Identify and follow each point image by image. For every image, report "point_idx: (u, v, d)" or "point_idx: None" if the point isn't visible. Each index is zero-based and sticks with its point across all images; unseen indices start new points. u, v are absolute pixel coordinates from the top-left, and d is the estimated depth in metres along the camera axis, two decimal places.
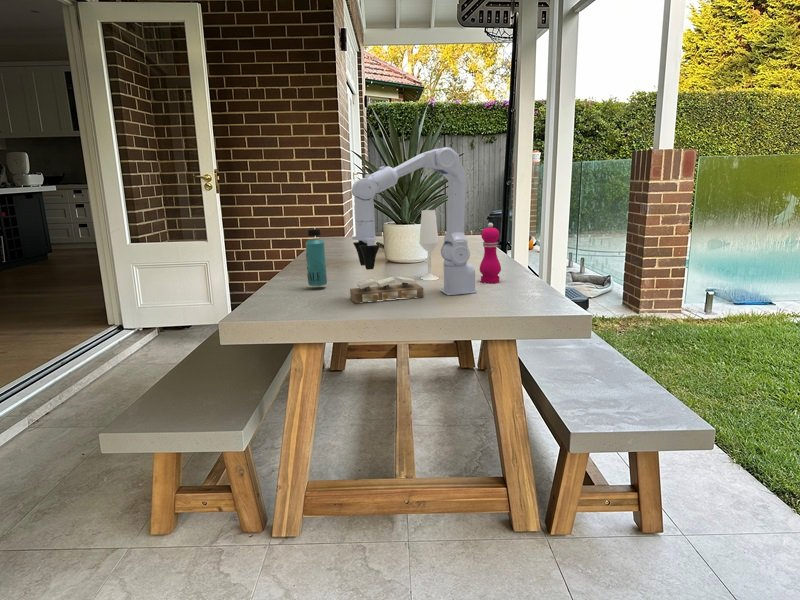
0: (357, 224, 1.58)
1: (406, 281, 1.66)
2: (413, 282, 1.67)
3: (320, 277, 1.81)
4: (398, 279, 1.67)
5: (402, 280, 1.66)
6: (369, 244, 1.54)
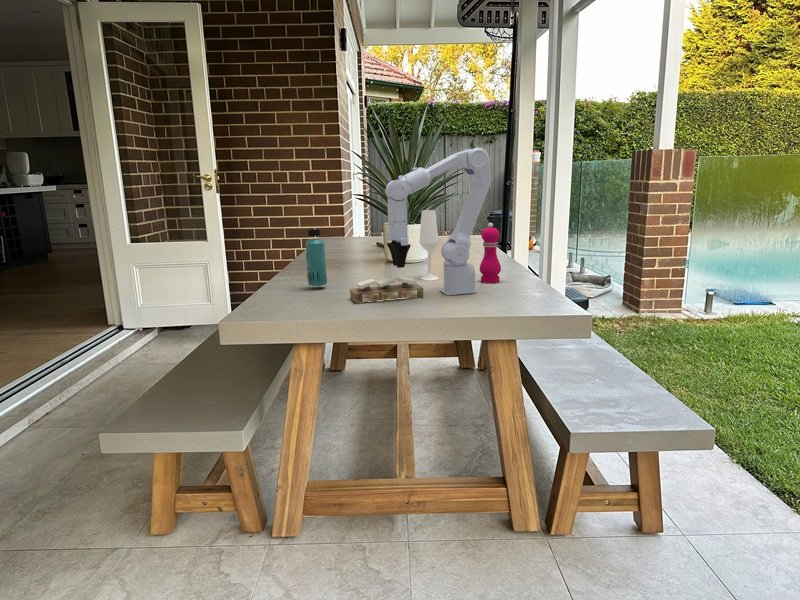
0: (390, 224, 1.62)
1: (406, 281, 1.66)
2: (413, 282, 1.67)
3: (320, 277, 1.81)
4: (398, 279, 1.67)
5: (402, 280, 1.66)
6: (403, 244, 1.58)
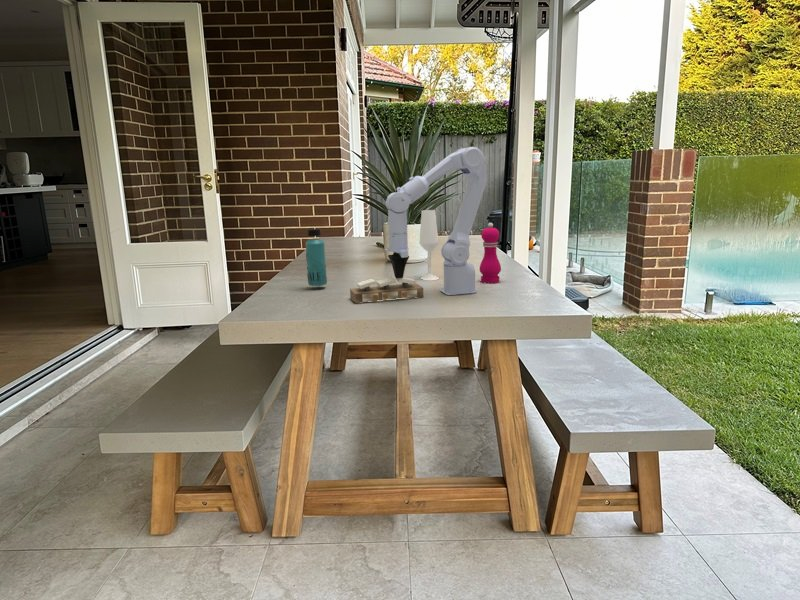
0: (390, 236, 1.63)
1: (406, 281, 1.66)
2: (413, 282, 1.67)
3: (320, 277, 1.81)
4: (398, 279, 1.67)
5: (402, 280, 1.66)
6: (403, 256, 1.59)
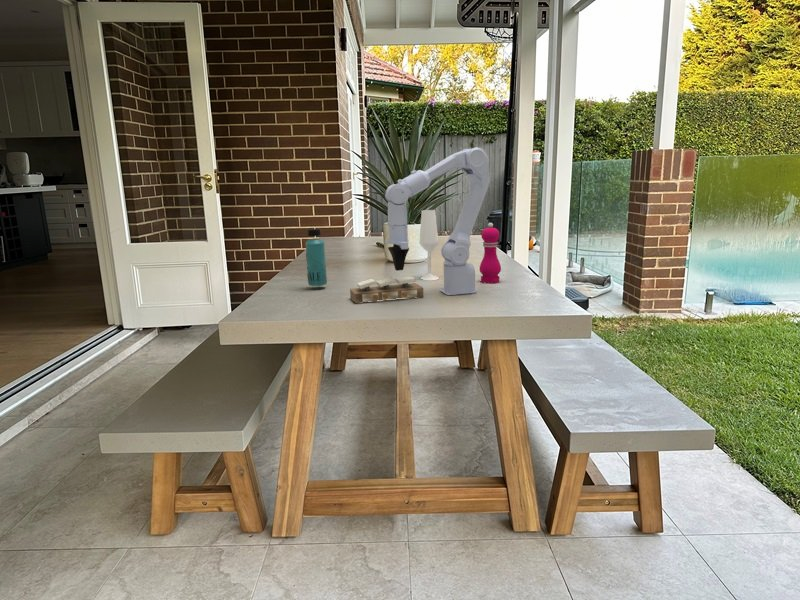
0: (390, 228, 1.62)
1: (406, 281, 1.66)
2: (413, 280, 1.67)
3: (320, 277, 1.81)
4: (397, 281, 1.67)
5: (401, 281, 1.66)
6: (403, 248, 1.58)
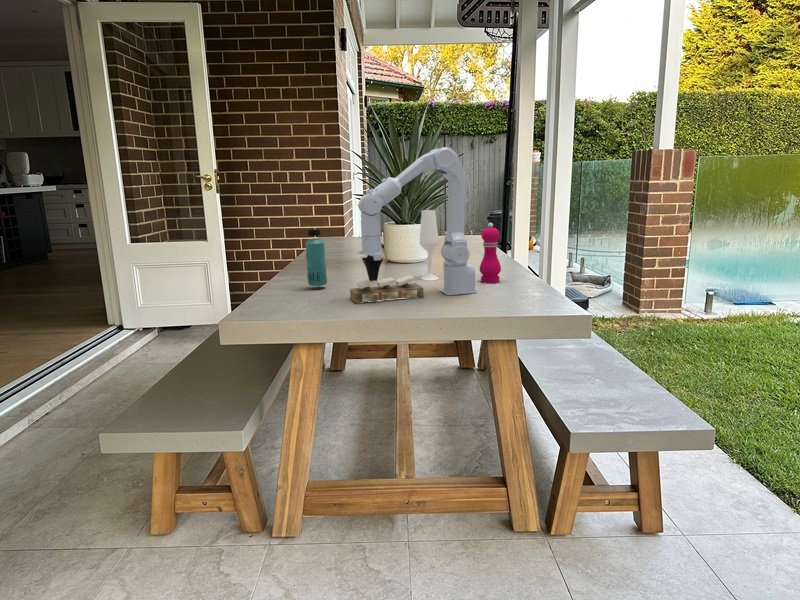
0: (363, 239, 1.61)
1: (405, 282, 1.66)
2: (412, 279, 1.67)
3: (320, 277, 1.81)
4: (397, 283, 1.67)
5: (401, 282, 1.66)
6: (376, 259, 1.57)
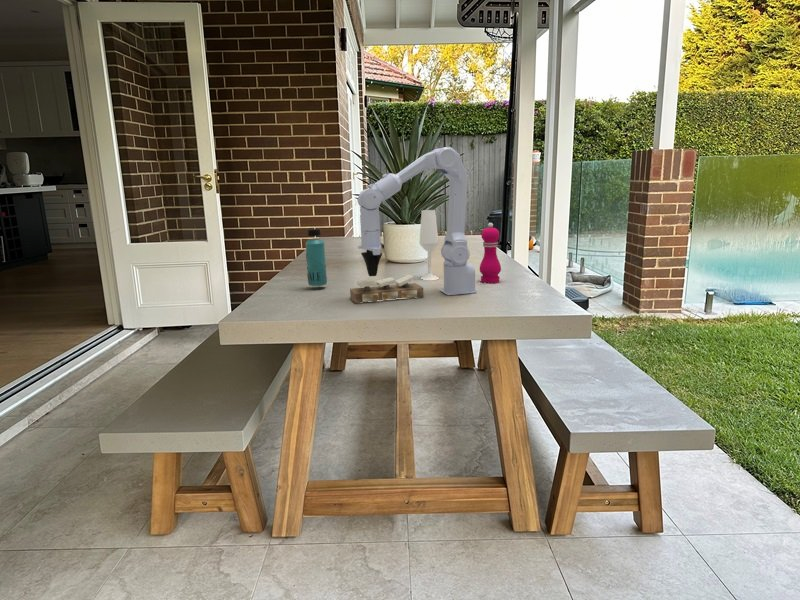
0: (363, 233, 1.60)
1: (405, 282, 1.66)
2: (412, 279, 1.67)
3: (320, 277, 1.81)
4: (397, 283, 1.67)
5: (401, 283, 1.66)
6: (375, 253, 1.56)
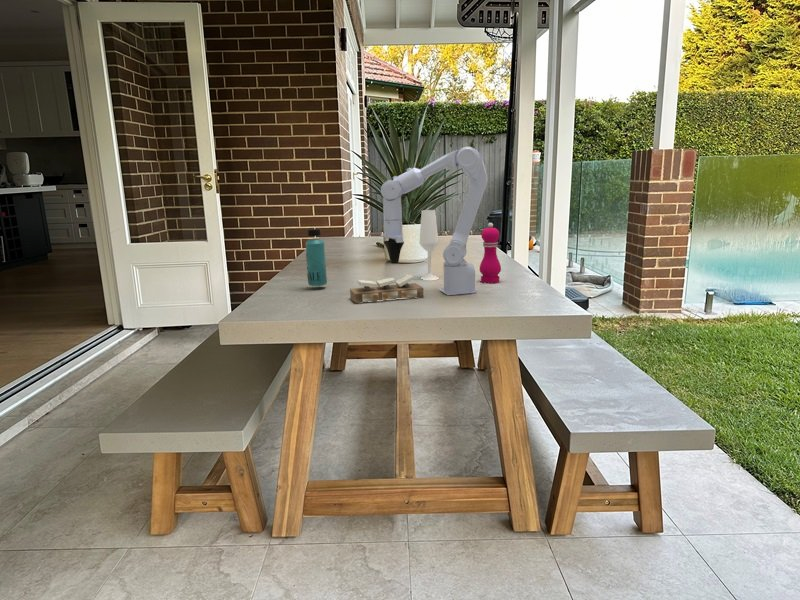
0: (386, 223, 1.70)
1: (405, 282, 1.66)
2: (412, 278, 1.67)
3: (320, 277, 1.81)
4: (398, 284, 1.67)
5: (401, 283, 1.66)
6: (398, 241, 1.66)
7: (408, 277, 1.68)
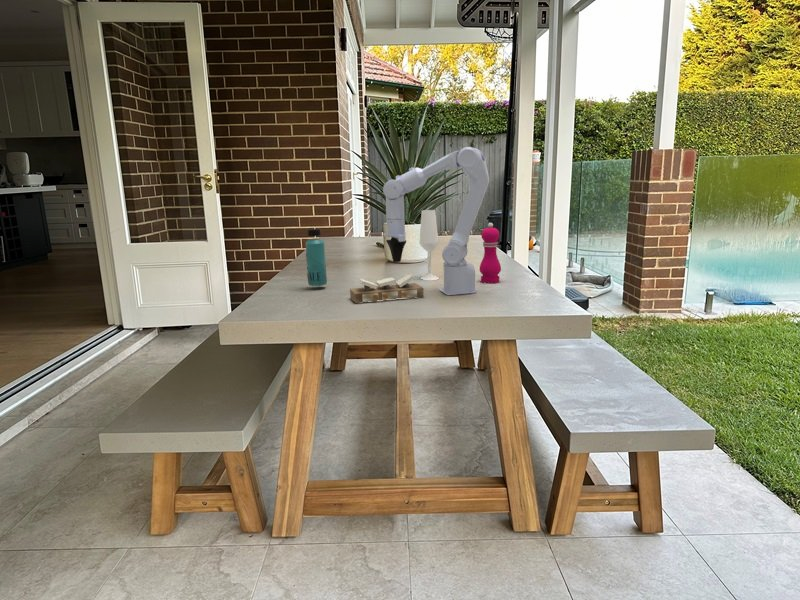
0: (388, 222, 1.71)
1: (405, 282, 1.66)
2: (411, 278, 1.66)
3: (320, 277, 1.81)
4: (398, 285, 1.67)
5: (401, 284, 1.66)
6: (400, 240, 1.67)
7: (408, 277, 1.67)
